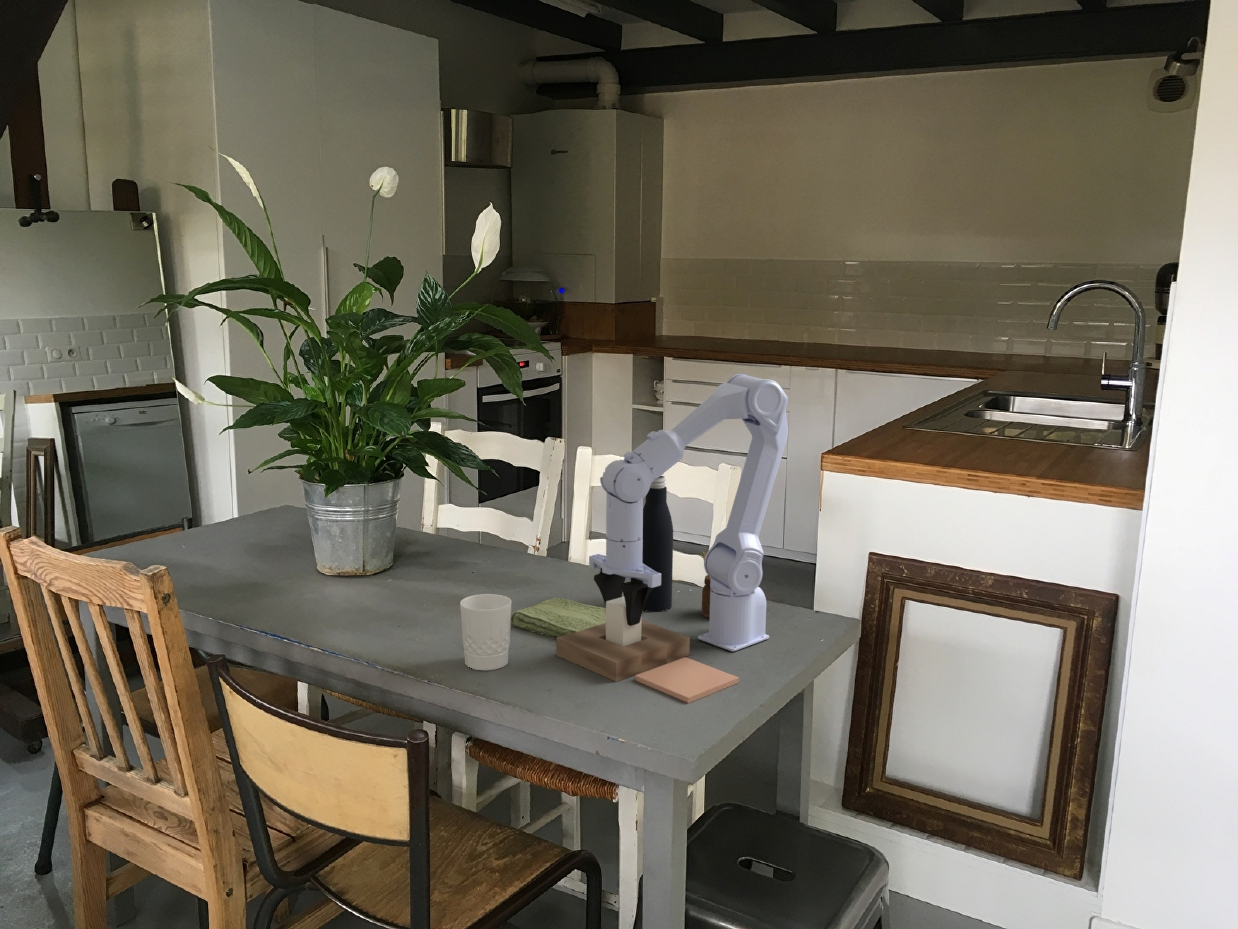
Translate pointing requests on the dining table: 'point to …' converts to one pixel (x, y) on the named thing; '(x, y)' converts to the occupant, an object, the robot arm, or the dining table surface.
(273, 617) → the dining table surface
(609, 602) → the plug
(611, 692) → the dining table surface
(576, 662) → the brown board with hole
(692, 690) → the tile
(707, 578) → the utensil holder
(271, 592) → the dining table surface
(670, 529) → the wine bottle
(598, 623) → the washcloth
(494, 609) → the white cup
